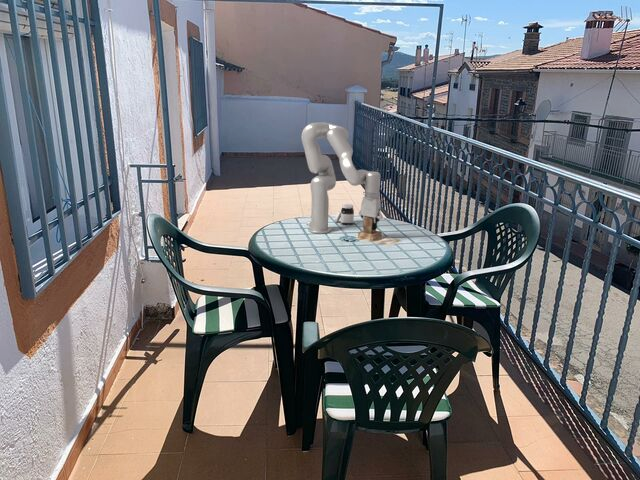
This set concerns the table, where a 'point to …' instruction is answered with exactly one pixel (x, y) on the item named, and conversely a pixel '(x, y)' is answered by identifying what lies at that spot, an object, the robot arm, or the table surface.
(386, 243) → the pocket board
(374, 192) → the robot arm
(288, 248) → the table surface
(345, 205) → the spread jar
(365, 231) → the walnut block
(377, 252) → the table surface
